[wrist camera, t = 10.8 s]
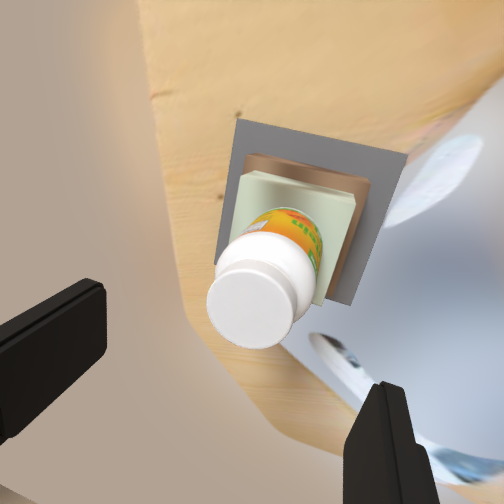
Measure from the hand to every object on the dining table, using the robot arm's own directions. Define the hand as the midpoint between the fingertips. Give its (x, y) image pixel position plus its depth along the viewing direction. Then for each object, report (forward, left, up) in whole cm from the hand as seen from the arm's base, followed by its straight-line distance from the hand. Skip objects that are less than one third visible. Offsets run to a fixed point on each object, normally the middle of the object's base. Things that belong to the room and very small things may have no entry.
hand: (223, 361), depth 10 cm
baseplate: (0, 0, -22) cm, 22 cm away
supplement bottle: (0, 0, -13) cm, 13 cm away
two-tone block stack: (0, 0, -22) cm, 22 cm away
